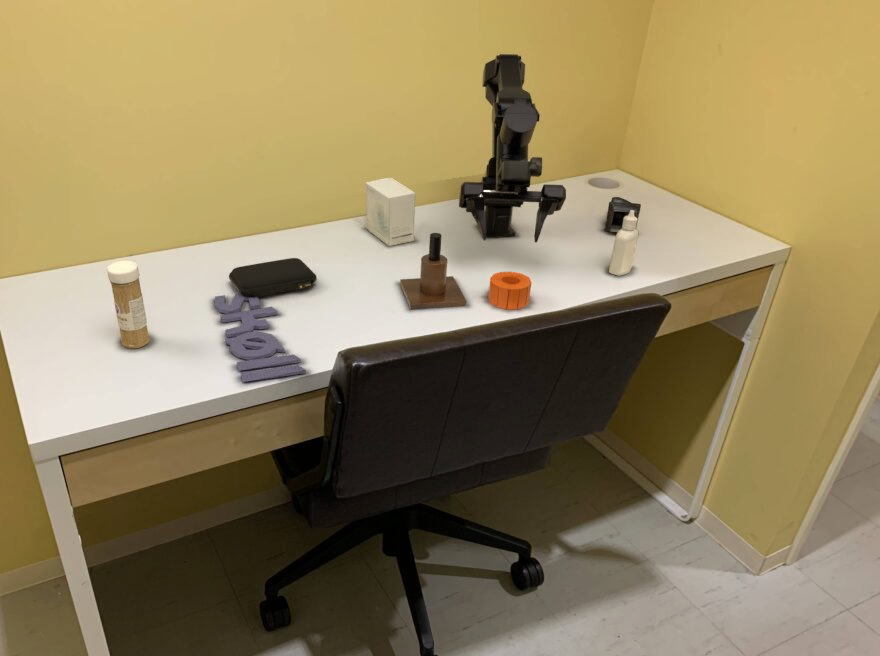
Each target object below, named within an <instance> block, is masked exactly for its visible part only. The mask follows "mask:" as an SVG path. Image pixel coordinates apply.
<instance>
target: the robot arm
mask: <svg viewBox="0 0 880 656" xmlns="http://www.w3.org/2000/svg"><path fill="white" fill-rule="evenodd" d="M525 77H526V64H525V62H523V61H522V55H519V54H518V53H517V54H516V53H515V54H514V53H512V54H510V53H499V55H498V54H496V55H495V58H494V59H491V60H490V61H488V62H486V63H485V64H484V68H483V72H482V81H481V83H482V88H484V95H485V96H484V97H485V99H486V101H487V102H488V104H490V105H491V124H492V128H491V129H492V130H491V132H492V134H491V135H492V137H491V138H492V139H491V140H492V141H491V144H492V145H491V148H492V149H491V157H490V158H489V160H488V163H487V165H486V168H485V173H484V176H482V177H481V181H479V182H477V181H464V182H462V184H461V185H460V190H459V198H458V207H459V208H461V209H465V212H466V213H471V216H472V217H473V219H474V221H475V222H476V224H477V225H476V226H477V227H478V230H479V232H480V235H481V238H482V240H483V241H485V242H486V241H487V238H494V237H495V238H499V237H500V238H501V237H515V236H516V231H515V230H514V229H513V228H512V218H513V211H514V208H521V207H522V205H524V203H538V209H537V212H536V218H535V226H534V234H533V237H534V243H538V240H539V238H540V235H541V232H542V229H543V227H544V223H545V221H546V219H547V217H548V216H552V215H554V213H555V212H559V211H561V210H562V207H563V206H564V203H565V202H566V200H567V189H566V187H565V186H564V185H563V184H548V183H547V184H546V183H544V184H543V185H542V188H541V190H528V188H530V187H531V180H532V179H531V178H532V177H533V178H539V177H541V176H542V173H543V157H541V156H540V157H539V156H536V157H535V156H532V157H531V158H530V160H529V144H530V143H531V140H532V139H533V135H534V132H535V129H536V126H537V123H538V122H540V116H541V115H540V112H539V111H538V109H537V108H536V107H537V106H536V103H534V102H533V98H532V95H531V93H530V92H529V91H527V90H525V89H523V85H525Z"/></svg>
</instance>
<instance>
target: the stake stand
mask: <svg viewBox="0 0 880 656" xmlns="http://www.w3.org/2000/svg"><path fill="white" fill-rule="evenodd" d="M442 235H443V234H441V233H440V232H432V233H430V234H429V245H428V249H429V250H428V254H425V255H423V256H422V257H421V258H420V274H419V275H420V277H417V278H401V279H400V280H399V285H400V288H401V290H402V292H403V295H404V297H405V300H406V301H407V305H408V307H409V309H410V310H419V309H420V310H421V309H423V310H424V309H436V308H437V309H438V308H450V307H453V308H454V307H465V306H467V299H466V297H465V295H464V293H463V292H462V290H461V288H460V287H459V285H458V283H457V281H456V279H455V278H454V276H453V275H451V276H450V275H449V276H447V273H448V257H447V256H445V255H443V254H441V251H442V237H443V236H442Z"/></svg>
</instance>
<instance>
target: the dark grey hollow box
mask: <svg viewBox="0 0 880 656" xmlns="http://www.w3.org/2000/svg"><path fill="white" fill-rule="evenodd" d="M641 208H642V204H641V203H637V202H636V203H635V202H631V201H629V200H628V199H625V198H623V197H620V196H612V197H611V200H610V201H609V202H608V207H607V213H606V219H605V226H604V232H612V233H618V231H619V230H620V229H622V225H623V220H624V217H625V216H628V215H629V213H630V210H634V216H635V217H636V218H637V224H636V228H637V226H638V221H639V216H640V212H641Z"/></svg>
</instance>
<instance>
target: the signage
mask: <svg viewBox="0 0 880 656" xmlns="http://www.w3.org/2000/svg"><path fill="white" fill-rule="evenodd" d="M246 301H247V302H249V310H243V311H242V310H241V309H242V307H243V305H244V303H245V302H246ZM260 301H261V300H260V298H259V296H258V297H257V296H255V297H245V296H244V295H242V294H241V293H240V292H238V293H236V294H235V295H233V298H232V300H231V302H230V304H228V305H227V304H226V295H225V294H224V295H217V296H214V307H215V309H216V310H217V311H218V313H220V314H221V315H219V316H220V320H221V323H230V322H238V321H241V324H240V325H238V326H235V327H231V328H227V329H225V330H224V331H225V335H226V337H227V338H225V343H226V345H228V346H230V353H231V354H232V355H234V356H235V357H237V358H238V359H242V360H241V361H236V366H237V369H238V371H244V372H240V379H241V380H242V382H243V383H245V382H246V383H247V382H253V381H259V380H267V379H275V378H281V377H288V376H295V375H301V374H307V371H306V370H307V369H305V368H304V367H303V366H300V365H299V364H298V363H301V362H302V361H301V358H300V357H298V356H297V355H296V354H293V353H291V354H285V355H279V356H274V354H276V353H285V351H286V350H285V348H284V346H282V345H279V340H278V339H277V338H276V337H275V336H274V335H273V334H272V333H268V332H264V331H254V330H266V329H269V328H270V327H269V323H268V321H267V319H266V318H263V317H271V316H277V315H278V314H279V313H278V310H277V309H275V308H274V307H272V306H267V307H261V304H260ZM258 318H263V319H258ZM291 364H294V365H291ZM295 364H296V365H295ZM283 365H287V366H283ZM288 365H289V366H288ZM276 366H281V367H276ZM268 367H269V368H268ZM270 367H274V368H270ZM263 368H266V369H263ZM254 369H259V370H254ZM246 370H247V371H246ZM248 370H252V371H248Z"/></svg>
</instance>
